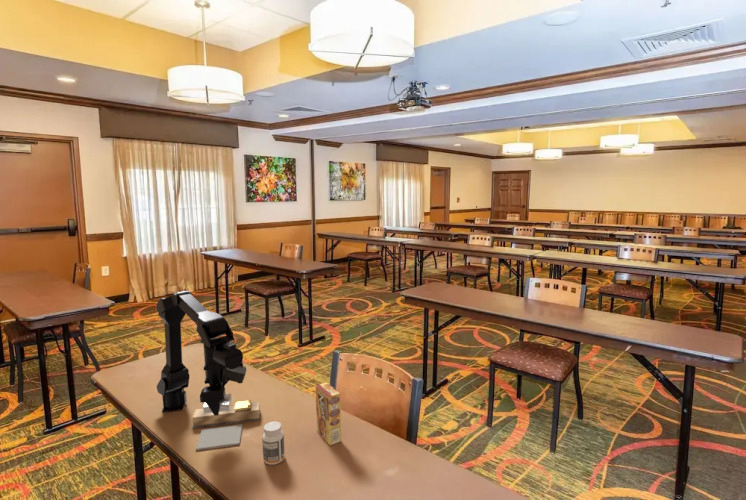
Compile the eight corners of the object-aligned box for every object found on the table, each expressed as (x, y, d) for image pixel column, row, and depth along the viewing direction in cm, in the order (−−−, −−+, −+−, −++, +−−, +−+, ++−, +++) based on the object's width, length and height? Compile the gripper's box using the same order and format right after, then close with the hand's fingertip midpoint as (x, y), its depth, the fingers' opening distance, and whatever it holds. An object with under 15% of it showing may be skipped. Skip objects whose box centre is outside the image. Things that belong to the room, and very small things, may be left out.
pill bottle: (273, 450, 118) (272, 418, 117) (288, 456, 115) (287, 423, 114) (259, 461, 113) (257, 428, 112) (274, 468, 110) (272, 434, 109)
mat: (195, 450, 118) (195, 448, 118) (202, 431, 128) (201, 429, 128) (239, 444, 121) (239, 442, 121) (242, 426, 131) (242, 424, 130)
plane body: (192, 428, 129) (191, 418, 129) (195, 419, 135) (195, 409, 134) (259, 420, 134) (259, 410, 133) (260, 411, 139) (259, 401, 139)
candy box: (342, 441, 122) (341, 393, 120) (329, 446, 120) (328, 397, 118) (328, 427, 129) (327, 381, 127) (316, 432, 127) (314, 385, 125)
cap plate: (203, 413, 119) (203, 406, 119) (207, 402, 125) (207, 396, 125) (229, 410, 121) (228, 404, 120) (231, 399, 127) (231, 393, 127)
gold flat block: (250, 409, 133) (234, 411, 132) (251, 402, 137) (236, 404, 136) (250, 406, 133) (234, 408, 132) (251, 399, 137) (235, 401, 136)
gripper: (240, 370, 114) (243, 422, 116) (246, 345, 132) (248, 391, 134) (197, 374, 111) (201, 427, 113) (209, 348, 129) (212, 395, 131)
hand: (218, 409), depth 123 cm, fingers closed on cap plate, 6 cm apart
